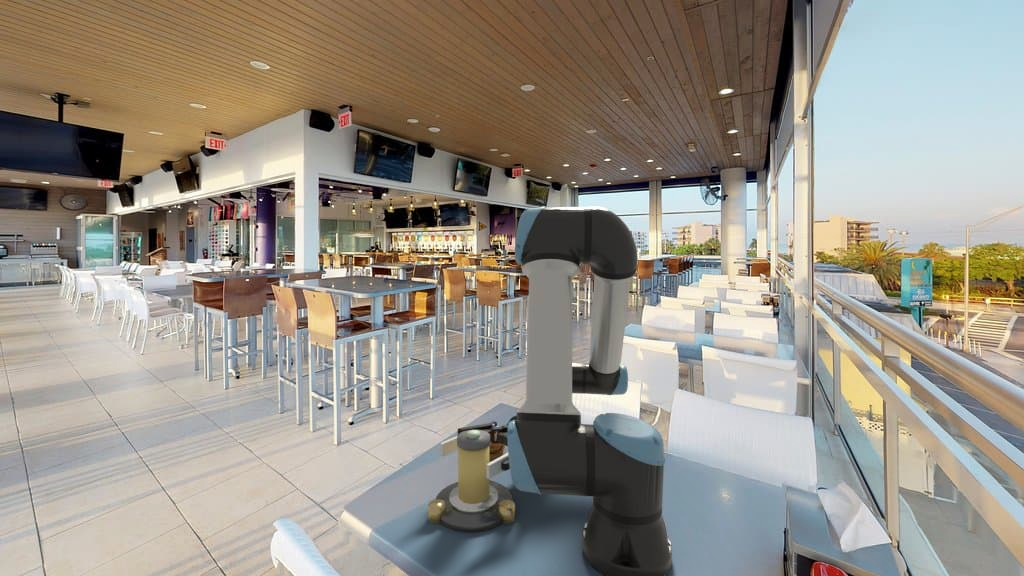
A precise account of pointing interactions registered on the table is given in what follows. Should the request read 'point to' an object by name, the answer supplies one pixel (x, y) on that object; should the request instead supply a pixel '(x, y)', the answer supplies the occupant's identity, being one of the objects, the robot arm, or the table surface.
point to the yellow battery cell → (473, 466)
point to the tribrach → (472, 509)
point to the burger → (495, 449)
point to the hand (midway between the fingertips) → (463, 460)
